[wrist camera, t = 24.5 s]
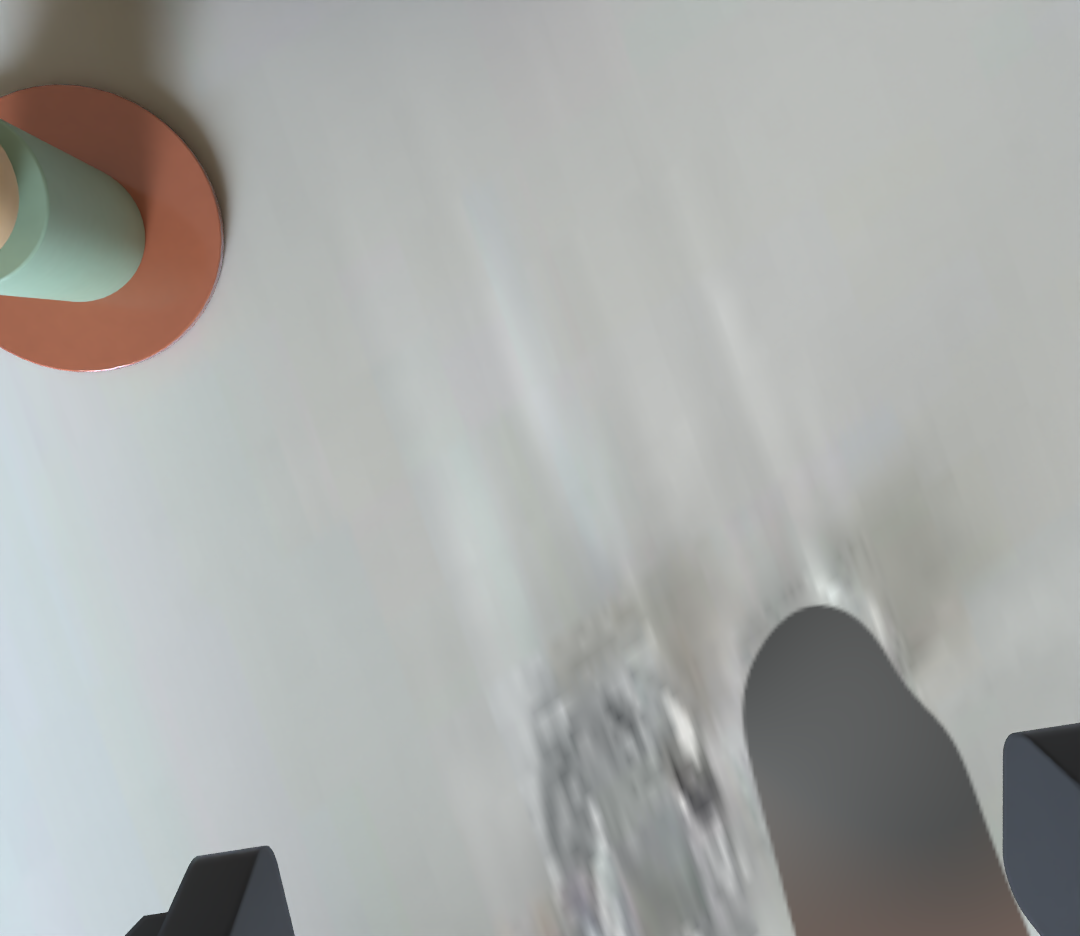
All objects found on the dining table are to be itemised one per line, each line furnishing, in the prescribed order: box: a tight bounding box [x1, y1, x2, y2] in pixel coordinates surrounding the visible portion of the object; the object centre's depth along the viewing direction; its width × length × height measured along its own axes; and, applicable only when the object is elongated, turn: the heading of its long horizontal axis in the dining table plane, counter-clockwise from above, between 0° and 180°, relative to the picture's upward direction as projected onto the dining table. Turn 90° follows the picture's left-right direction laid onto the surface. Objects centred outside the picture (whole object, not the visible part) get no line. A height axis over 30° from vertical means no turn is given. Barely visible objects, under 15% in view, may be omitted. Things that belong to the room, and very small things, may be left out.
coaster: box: [0, 84, 224, 372], centre depth 33 cm, size 10×10×1 cm
